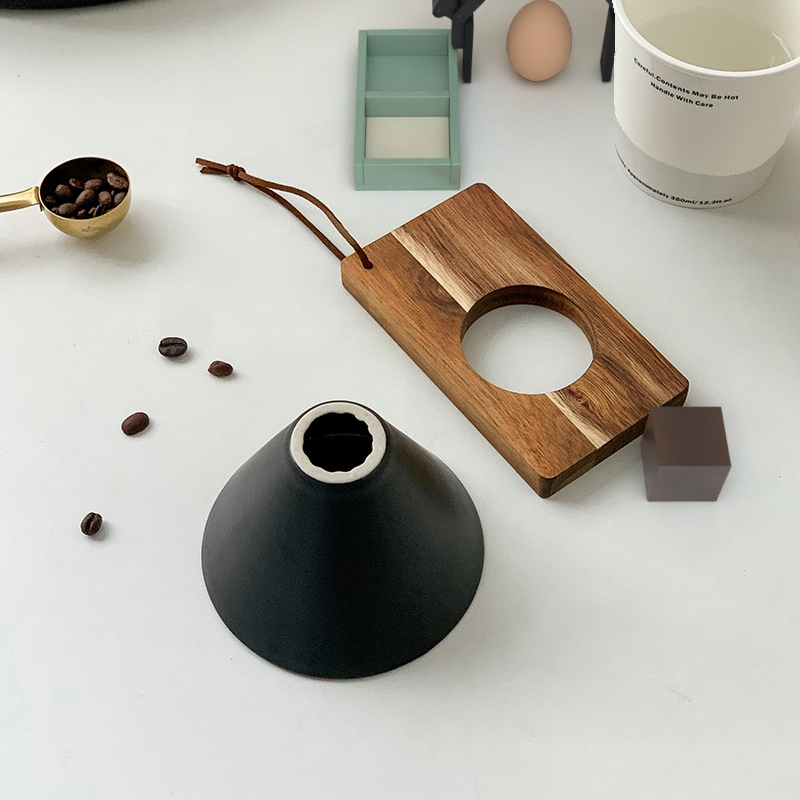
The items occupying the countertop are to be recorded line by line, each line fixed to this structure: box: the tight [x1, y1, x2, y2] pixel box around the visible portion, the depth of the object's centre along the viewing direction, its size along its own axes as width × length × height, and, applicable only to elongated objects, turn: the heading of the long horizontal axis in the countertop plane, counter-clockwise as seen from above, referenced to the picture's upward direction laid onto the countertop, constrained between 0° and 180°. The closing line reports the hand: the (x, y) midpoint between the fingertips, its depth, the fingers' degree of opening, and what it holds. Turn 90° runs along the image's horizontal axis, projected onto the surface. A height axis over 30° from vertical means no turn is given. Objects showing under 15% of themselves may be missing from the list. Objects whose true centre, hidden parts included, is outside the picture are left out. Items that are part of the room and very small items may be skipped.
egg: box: [505, 0, 573, 82], centre depth 108 cm, size 6×6×8 cm
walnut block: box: [640, 406, 732, 502], centre depth 86 cm, size 5×5×5 cm
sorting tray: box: [353, 28, 462, 191], centre depth 107 cm, size 9×17×3 cm, turn 0°
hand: (535, 72), depth 112 cm, fingers open, 12 cm apart
